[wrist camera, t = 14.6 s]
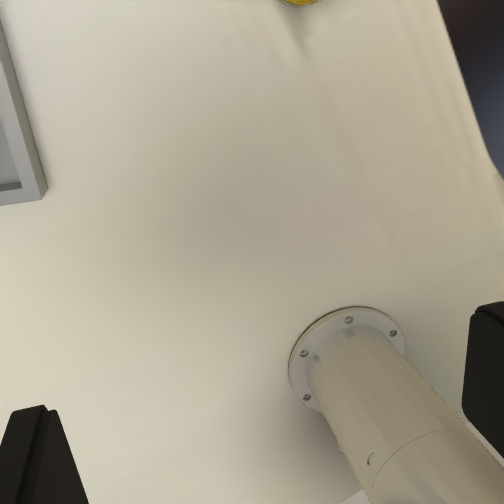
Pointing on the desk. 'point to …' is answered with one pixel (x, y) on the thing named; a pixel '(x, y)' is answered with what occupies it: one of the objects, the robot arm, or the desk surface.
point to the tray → (16, 140)
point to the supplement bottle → (299, 2)
